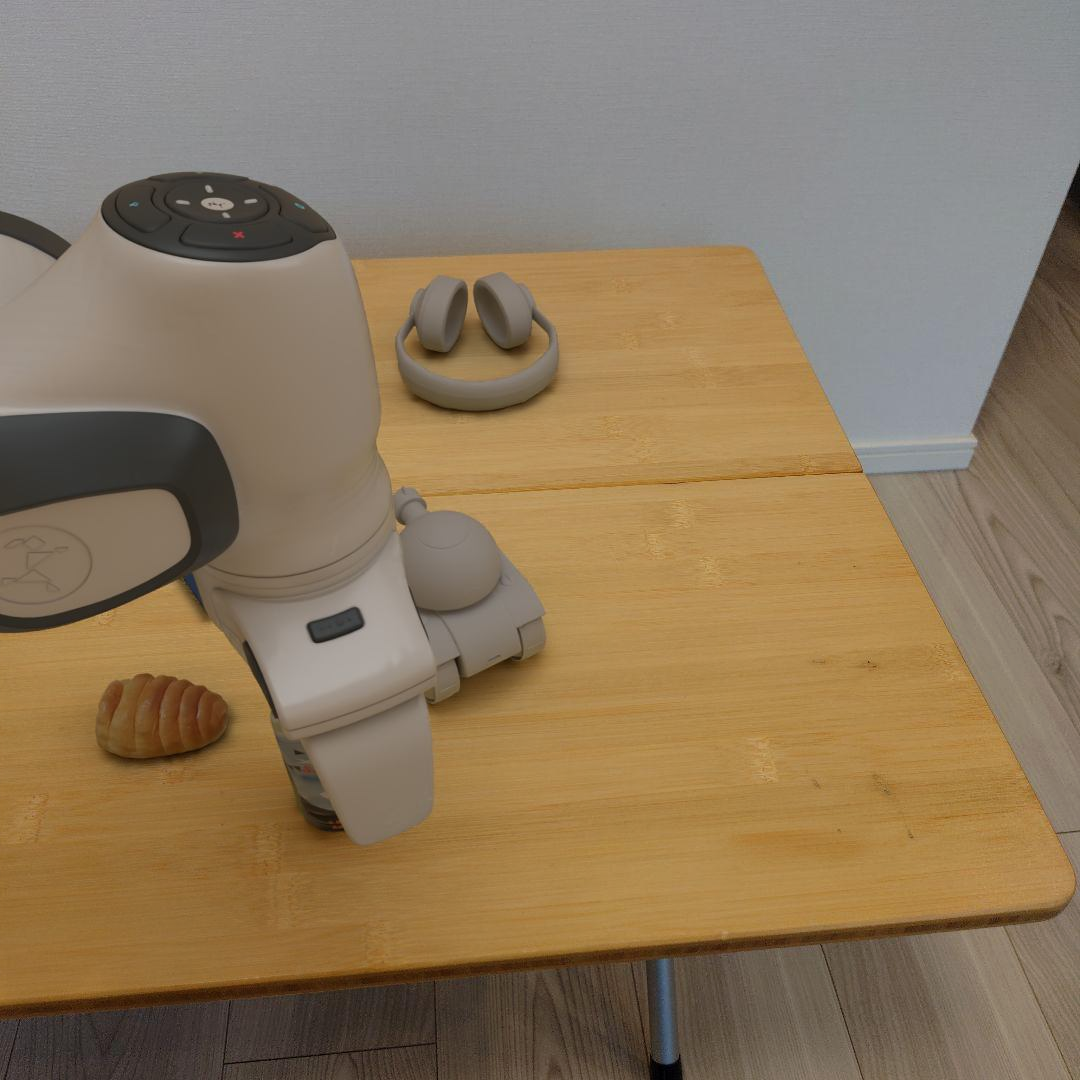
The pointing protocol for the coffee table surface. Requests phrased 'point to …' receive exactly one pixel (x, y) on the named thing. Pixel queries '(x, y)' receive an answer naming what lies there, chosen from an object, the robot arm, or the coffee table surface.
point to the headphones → (505, 321)
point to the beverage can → (306, 783)
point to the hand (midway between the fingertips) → (339, 731)
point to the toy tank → (465, 593)
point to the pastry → (158, 716)
